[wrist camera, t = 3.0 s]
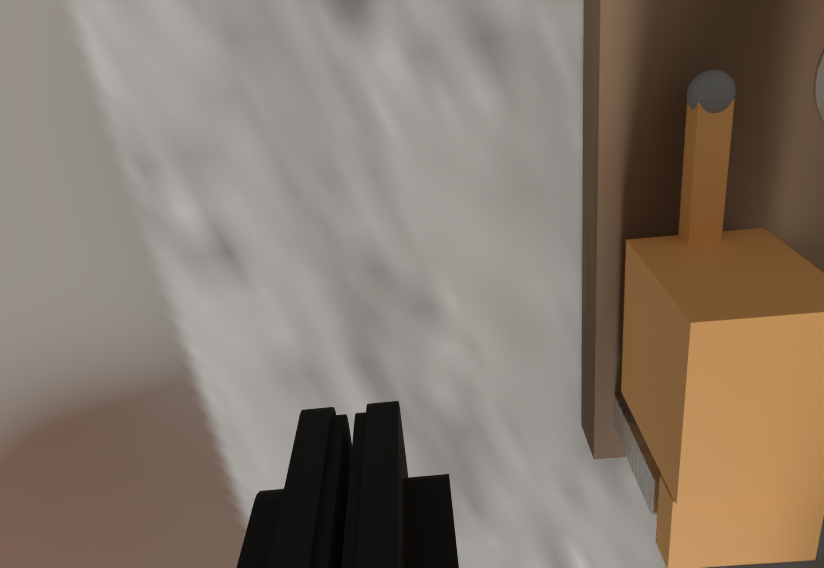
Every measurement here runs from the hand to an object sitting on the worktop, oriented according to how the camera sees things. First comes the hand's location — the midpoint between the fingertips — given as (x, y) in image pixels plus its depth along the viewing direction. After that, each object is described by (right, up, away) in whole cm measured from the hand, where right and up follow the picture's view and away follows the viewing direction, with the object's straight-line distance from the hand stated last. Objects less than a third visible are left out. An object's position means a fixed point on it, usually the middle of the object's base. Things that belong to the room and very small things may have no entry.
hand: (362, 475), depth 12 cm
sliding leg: (+7, +3, +4) cm, 9 cm away
